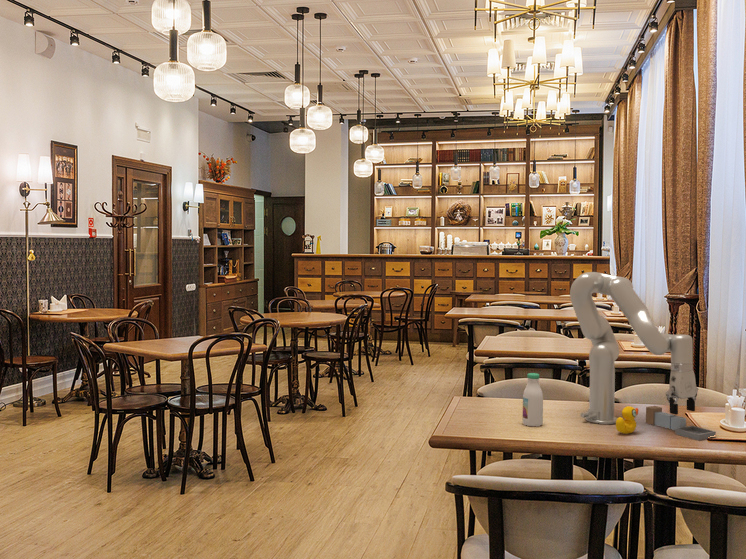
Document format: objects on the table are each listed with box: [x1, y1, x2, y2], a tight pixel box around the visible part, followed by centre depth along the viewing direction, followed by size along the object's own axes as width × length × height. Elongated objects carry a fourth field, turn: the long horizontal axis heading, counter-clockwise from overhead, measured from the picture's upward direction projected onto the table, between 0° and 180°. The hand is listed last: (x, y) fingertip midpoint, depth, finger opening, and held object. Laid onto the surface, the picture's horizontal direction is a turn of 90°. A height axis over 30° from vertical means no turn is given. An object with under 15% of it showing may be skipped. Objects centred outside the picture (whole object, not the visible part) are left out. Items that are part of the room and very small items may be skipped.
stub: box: [670, 415, 687, 431], centre depth 260 cm, size 4×4×5 cm
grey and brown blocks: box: [645, 405, 677, 430], centre depth 267 cm, size 5×10×6 cm, turn 29°
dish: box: [674, 425, 717, 441], centre depth 253 cm, size 10×10×2 cm
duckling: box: [615, 405, 639, 435], centre depth 255 cm, size 11×5×10 cm, turn 122°
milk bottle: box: [522, 372, 544, 427], centre depth 267 cm, size 8×8×20 cm
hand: (682, 412), depth 259 cm, fingers open, 9 cm apart
